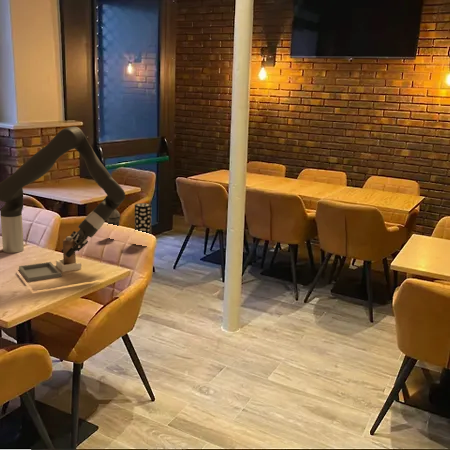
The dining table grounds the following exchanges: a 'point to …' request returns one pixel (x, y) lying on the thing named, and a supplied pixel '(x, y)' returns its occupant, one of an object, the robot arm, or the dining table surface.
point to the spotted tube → (143, 217)
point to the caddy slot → (67, 267)
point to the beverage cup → (114, 218)
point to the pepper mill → (66, 246)
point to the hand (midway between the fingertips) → (65, 254)
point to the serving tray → (40, 271)
